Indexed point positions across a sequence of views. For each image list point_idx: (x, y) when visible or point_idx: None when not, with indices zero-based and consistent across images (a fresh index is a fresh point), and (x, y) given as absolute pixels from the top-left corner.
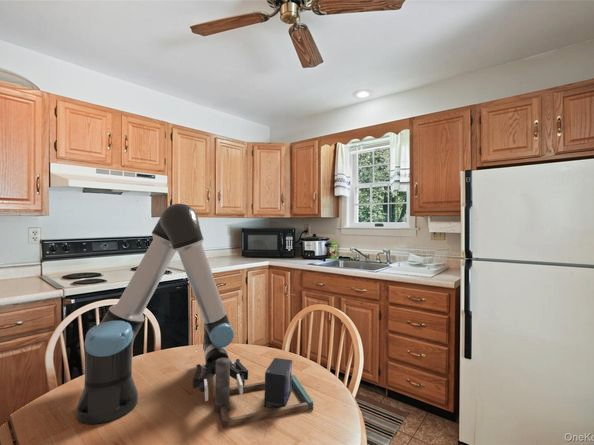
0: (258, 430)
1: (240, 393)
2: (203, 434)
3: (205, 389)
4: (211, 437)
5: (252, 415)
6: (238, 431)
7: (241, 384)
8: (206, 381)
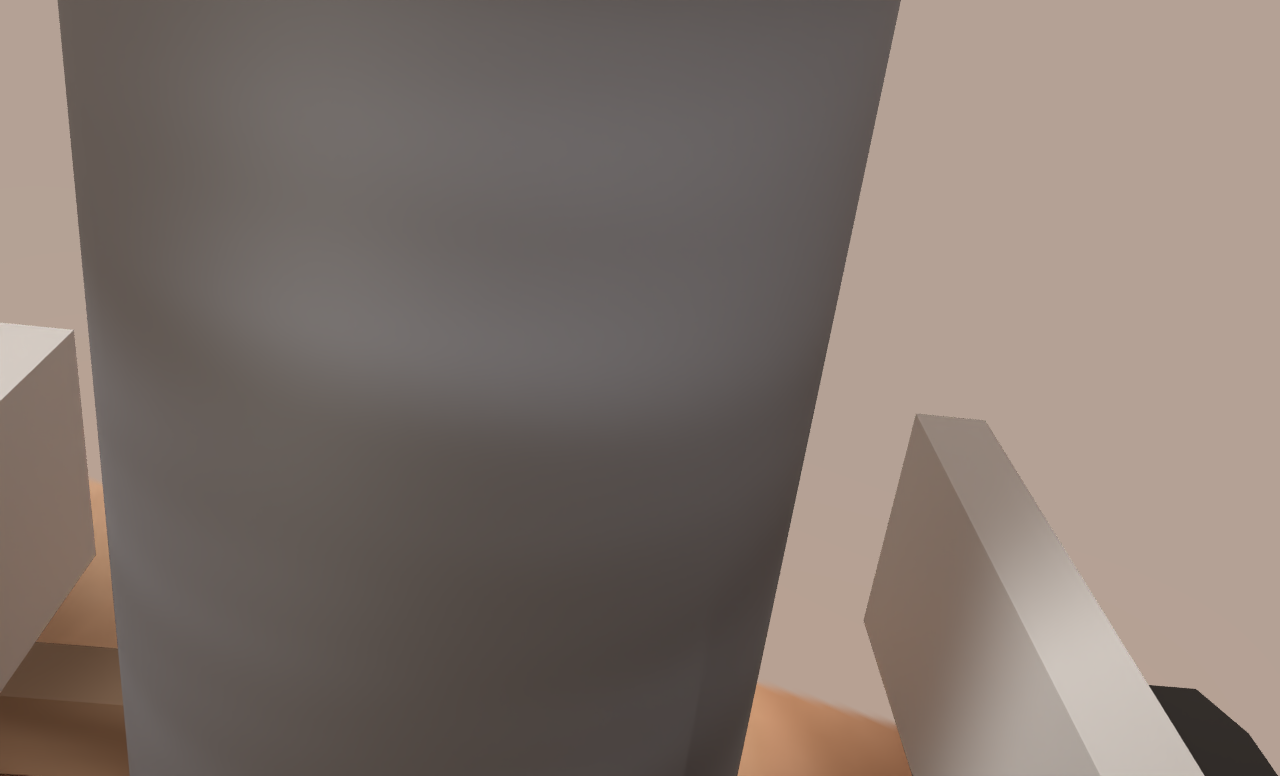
0: (72, 594)
1: (84, 528)
2: (819, 773)
3: (1000, 454)
4: None
5: None
6: None
7: (25, 334)
8: (1115, 766)
